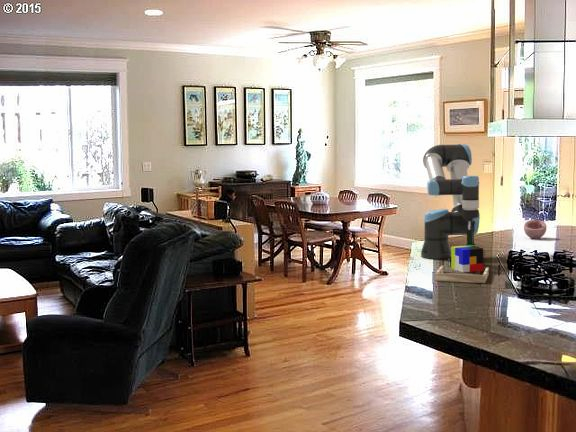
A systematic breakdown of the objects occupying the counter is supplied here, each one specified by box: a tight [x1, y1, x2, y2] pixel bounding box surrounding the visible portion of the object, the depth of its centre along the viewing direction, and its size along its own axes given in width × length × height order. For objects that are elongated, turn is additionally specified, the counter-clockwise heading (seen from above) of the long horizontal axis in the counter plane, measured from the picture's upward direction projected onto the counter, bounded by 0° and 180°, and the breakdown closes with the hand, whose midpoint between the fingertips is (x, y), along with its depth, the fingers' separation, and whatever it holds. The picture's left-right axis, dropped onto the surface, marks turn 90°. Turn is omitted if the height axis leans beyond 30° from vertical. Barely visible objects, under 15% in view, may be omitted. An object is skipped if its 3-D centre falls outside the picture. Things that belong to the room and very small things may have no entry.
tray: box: [434, 265, 490, 284], centre depth 277 cm, size 18×20×3 cm
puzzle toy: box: [450, 244, 484, 273], centre depth 294 cm, size 10×10×10 cm
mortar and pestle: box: [523, 218, 547, 240], centre depth 375 cm, size 12×12×11 cm
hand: (470, 259), depth 307 cm, fingers closed
